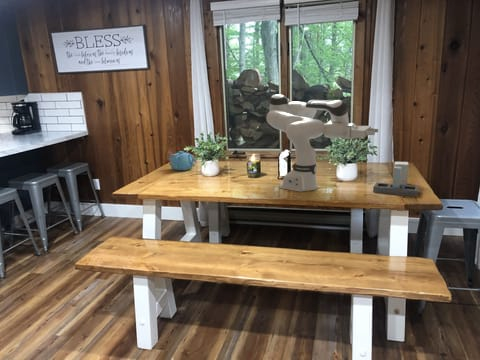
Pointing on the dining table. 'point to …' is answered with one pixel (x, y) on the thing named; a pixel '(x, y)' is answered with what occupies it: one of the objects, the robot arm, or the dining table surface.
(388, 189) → the compartment tray
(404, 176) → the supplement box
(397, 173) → the clip
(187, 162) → the decorative pot
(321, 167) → the dining table surface
